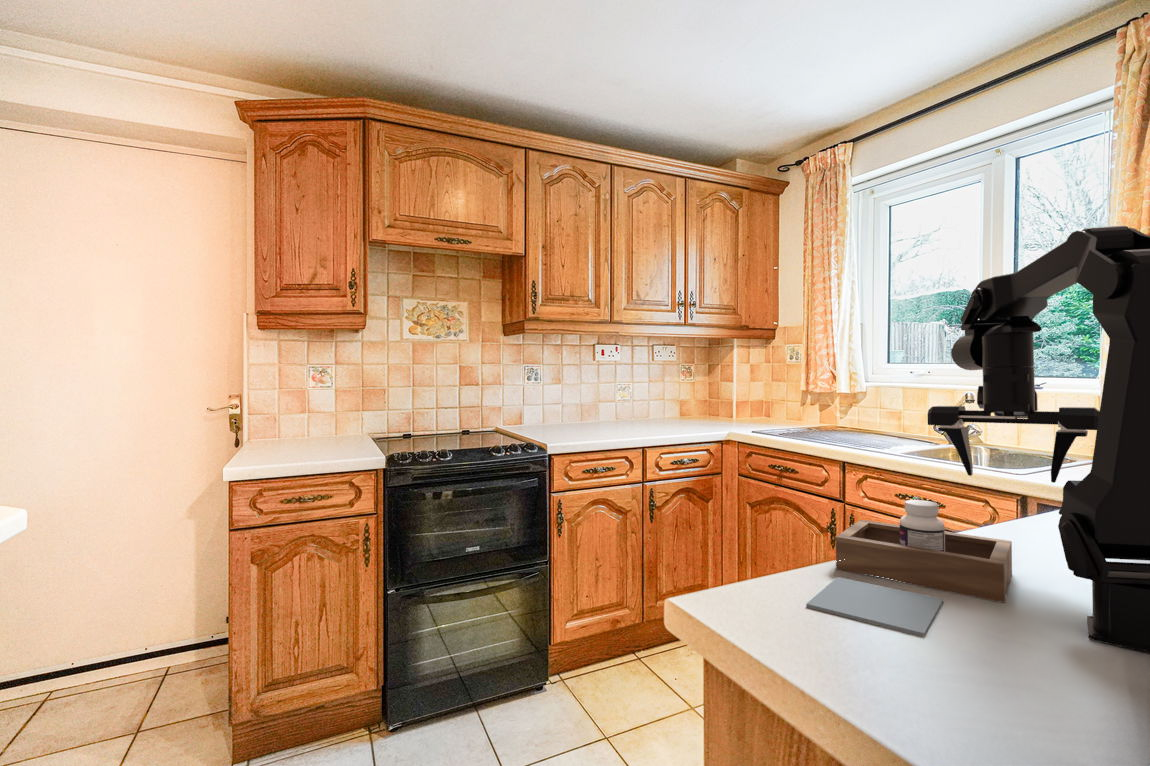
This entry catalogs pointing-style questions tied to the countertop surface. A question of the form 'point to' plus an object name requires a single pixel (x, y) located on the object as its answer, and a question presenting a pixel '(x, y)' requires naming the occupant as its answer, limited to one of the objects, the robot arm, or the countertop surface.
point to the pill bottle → (922, 526)
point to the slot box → (928, 560)
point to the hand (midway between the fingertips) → (1010, 478)
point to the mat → (878, 605)
